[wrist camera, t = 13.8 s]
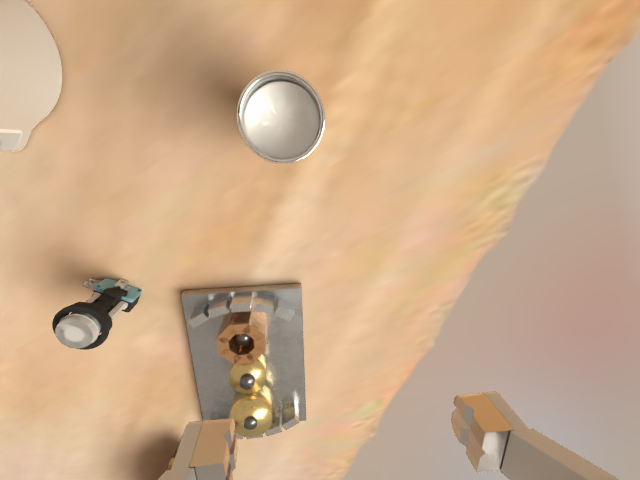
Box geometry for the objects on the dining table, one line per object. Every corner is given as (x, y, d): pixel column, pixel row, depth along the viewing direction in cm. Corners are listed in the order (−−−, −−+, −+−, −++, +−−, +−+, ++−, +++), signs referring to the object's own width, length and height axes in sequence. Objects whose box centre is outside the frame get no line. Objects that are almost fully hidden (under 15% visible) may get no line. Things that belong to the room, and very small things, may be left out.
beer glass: (320, 143, 38) (341, 146, 24) (268, 164, 38) (258, 180, 24) (298, 84, 36) (307, 50, 21) (243, 107, 36) (216, 88, 22)
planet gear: (226, 346, 44) (221, 365, 40) (220, 309, 42) (214, 326, 38) (268, 342, 44) (267, 361, 41) (264, 306, 42) (263, 322, 39)
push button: (85, 294, 41) (25, 342, 31) (96, 260, 39) (37, 299, 30) (137, 311, 42) (94, 361, 33) (149, 279, 41) (108, 322, 32)
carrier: (207, 422, 50) (196, 459, 44) (184, 290, 42) (168, 314, 36) (305, 412, 51) (308, 447, 45) (300, 283, 44) (303, 305, 38)
